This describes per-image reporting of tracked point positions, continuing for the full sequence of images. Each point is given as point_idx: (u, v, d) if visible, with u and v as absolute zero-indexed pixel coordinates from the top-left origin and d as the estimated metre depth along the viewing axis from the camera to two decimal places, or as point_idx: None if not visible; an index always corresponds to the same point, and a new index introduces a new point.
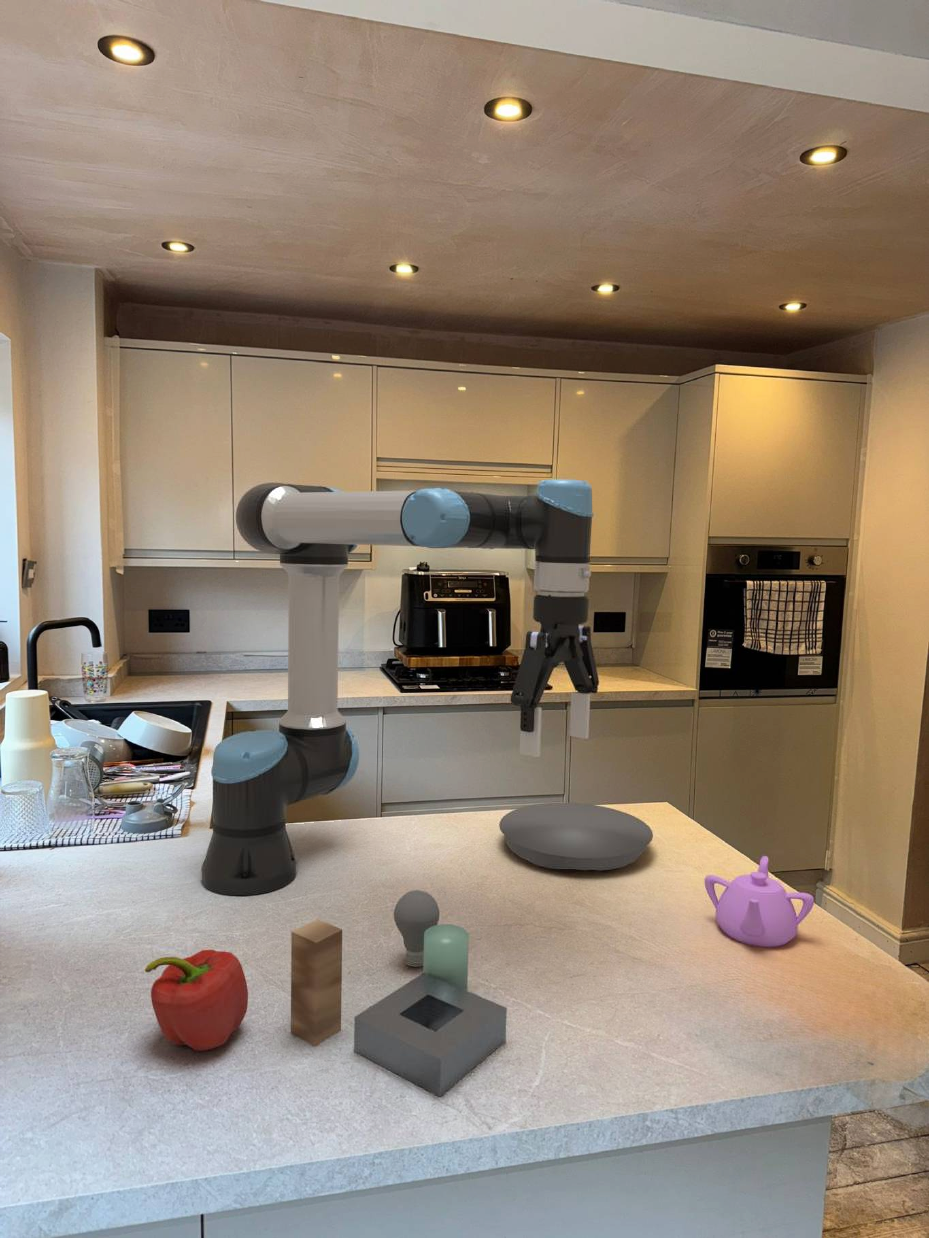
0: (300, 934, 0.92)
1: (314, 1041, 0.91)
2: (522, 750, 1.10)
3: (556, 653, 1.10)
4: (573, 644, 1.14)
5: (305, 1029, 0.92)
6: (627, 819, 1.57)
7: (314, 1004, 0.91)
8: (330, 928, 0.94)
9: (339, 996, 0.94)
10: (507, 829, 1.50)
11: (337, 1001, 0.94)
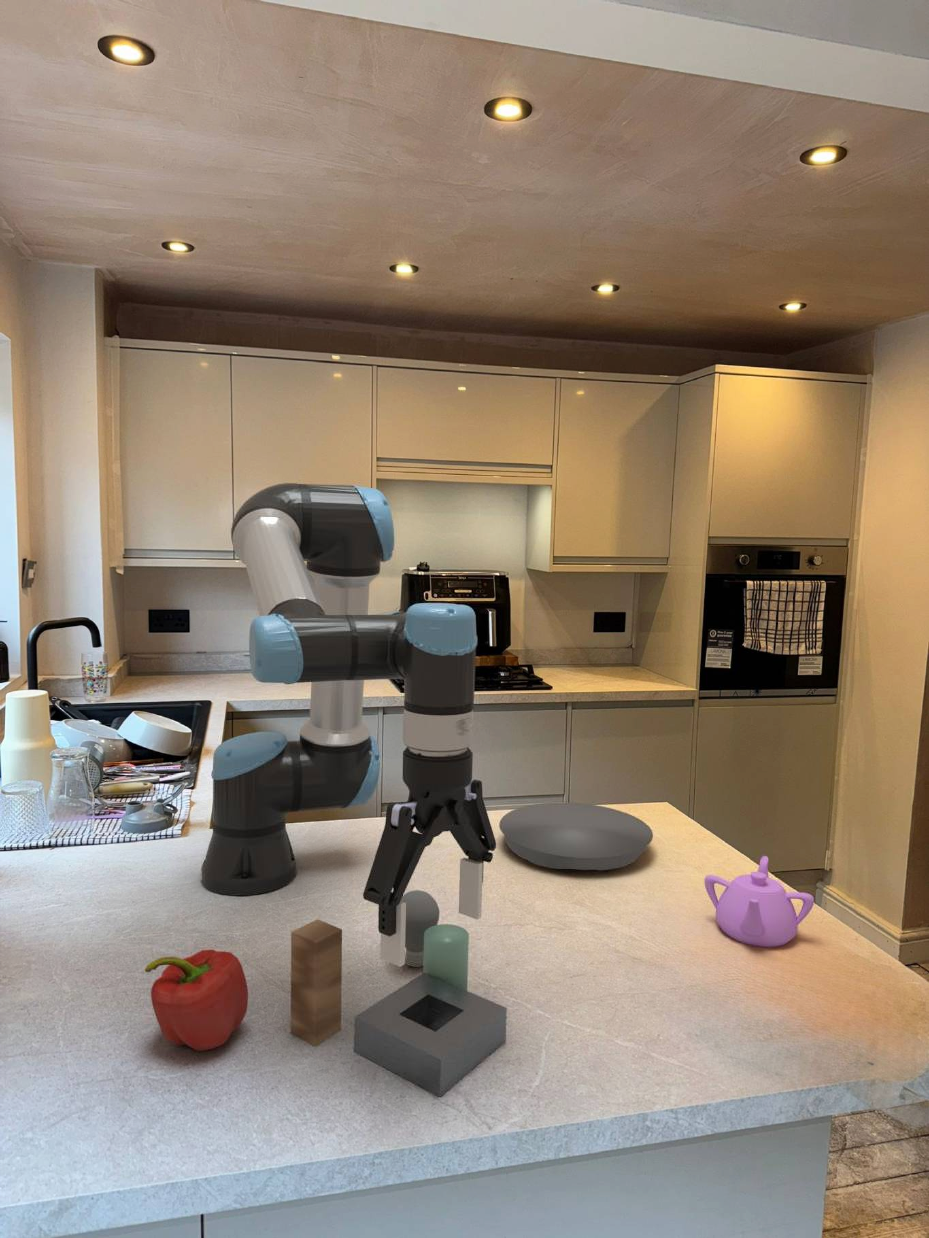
0: (300, 934, 0.92)
1: (314, 1041, 0.91)
2: (383, 954, 0.85)
3: (428, 828, 0.86)
4: (454, 811, 0.89)
5: (305, 1029, 0.92)
6: (627, 819, 1.57)
7: (314, 1004, 0.91)
8: (330, 928, 0.94)
9: (339, 996, 0.94)
10: (507, 828, 1.50)
11: (337, 1001, 0.94)
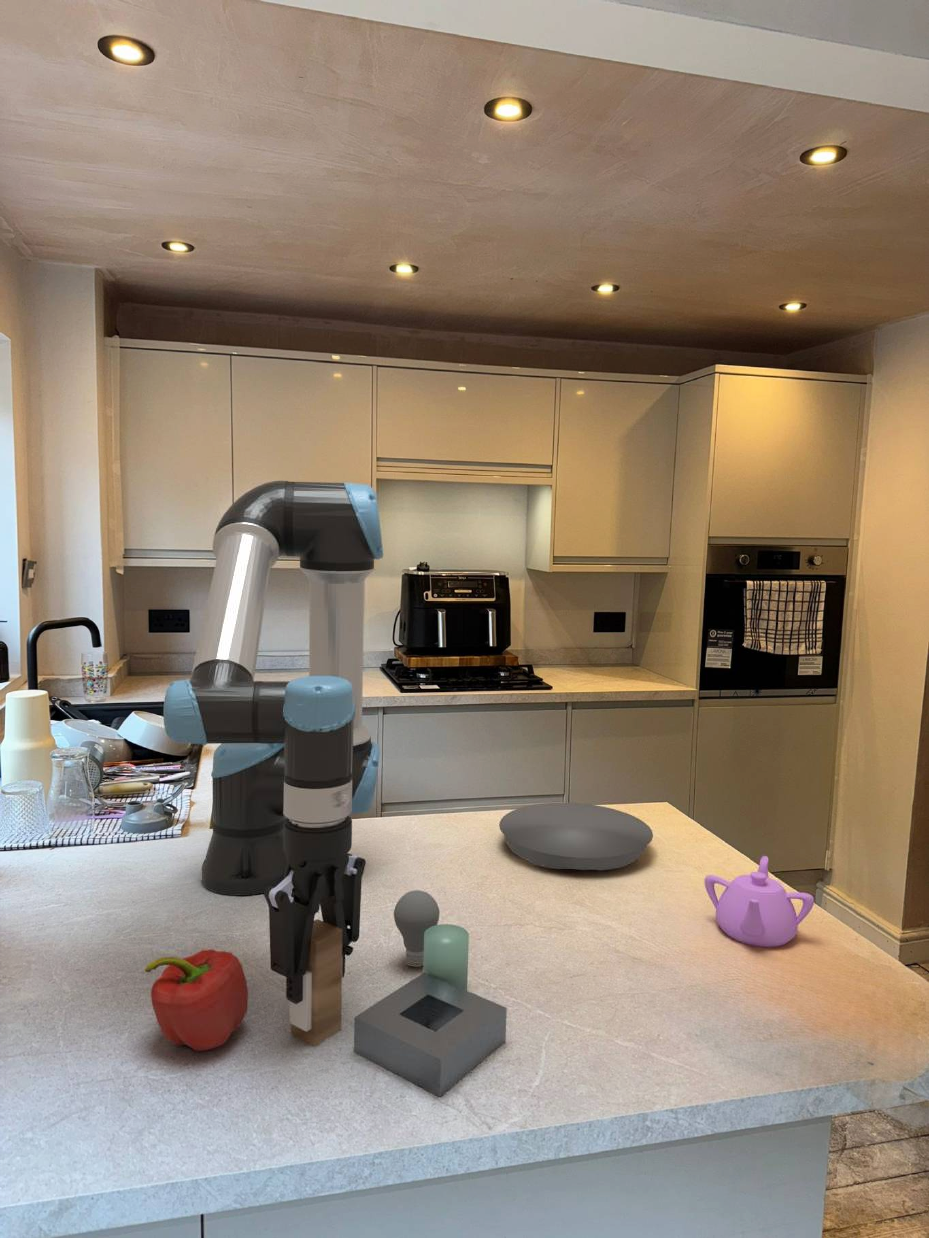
0: None
1: (314, 1041, 0.91)
2: (292, 1019, 0.92)
3: (310, 901, 0.90)
4: (332, 876, 0.92)
5: None
6: (627, 819, 1.57)
7: (314, 1004, 0.91)
8: (330, 928, 0.94)
9: (339, 996, 0.94)
10: (507, 829, 1.50)
11: (337, 1001, 0.94)
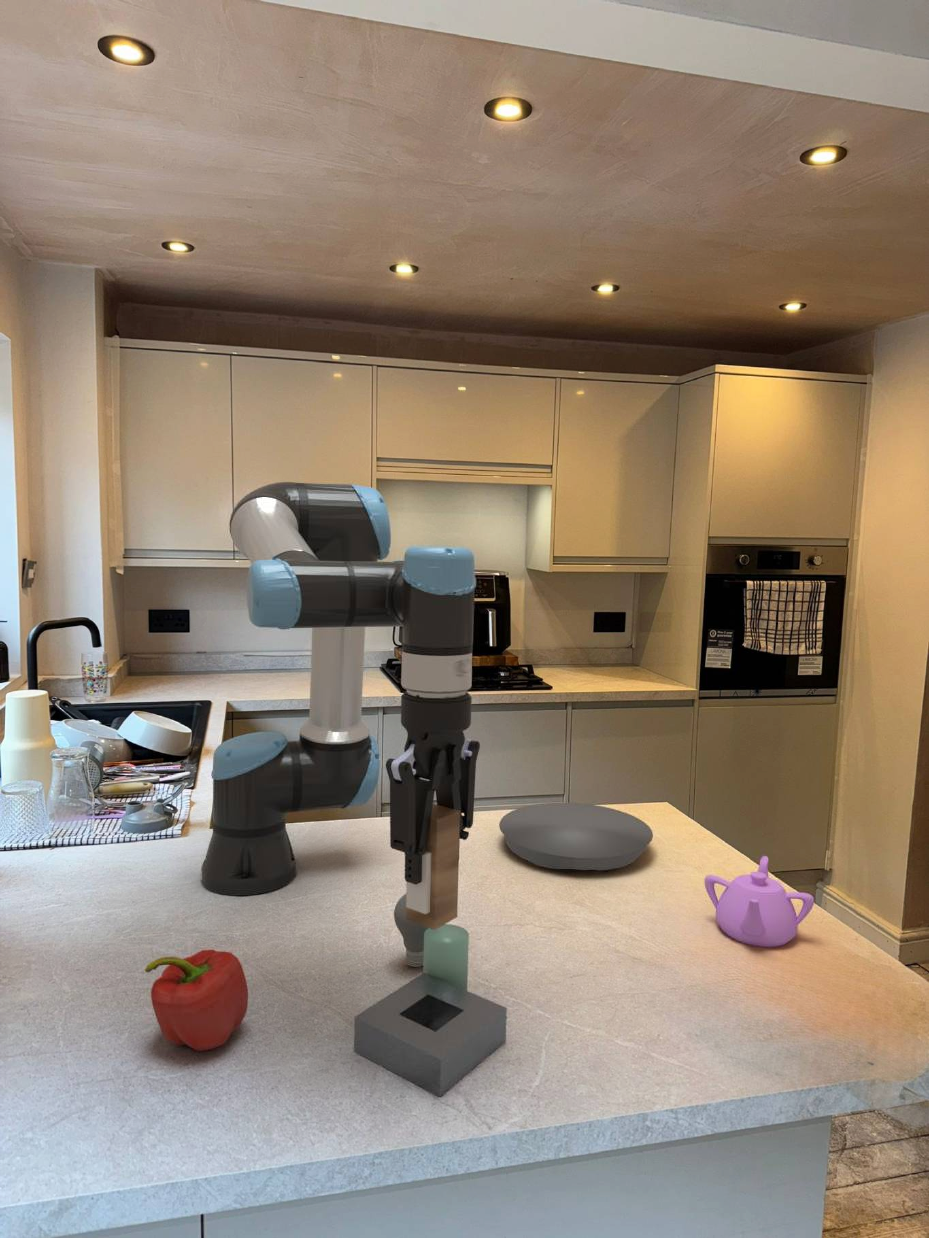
0: None
1: (433, 925, 0.88)
2: (409, 903, 0.88)
3: (431, 776, 0.86)
4: (451, 753, 0.88)
5: None
6: (627, 819, 1.57)
7: (433, 886, 0.87)
8: (447, 810, 0.90)
9: (456, 881, 0.90)
10: (507, 829, 1.50)
11: (454, 886, 0.90)
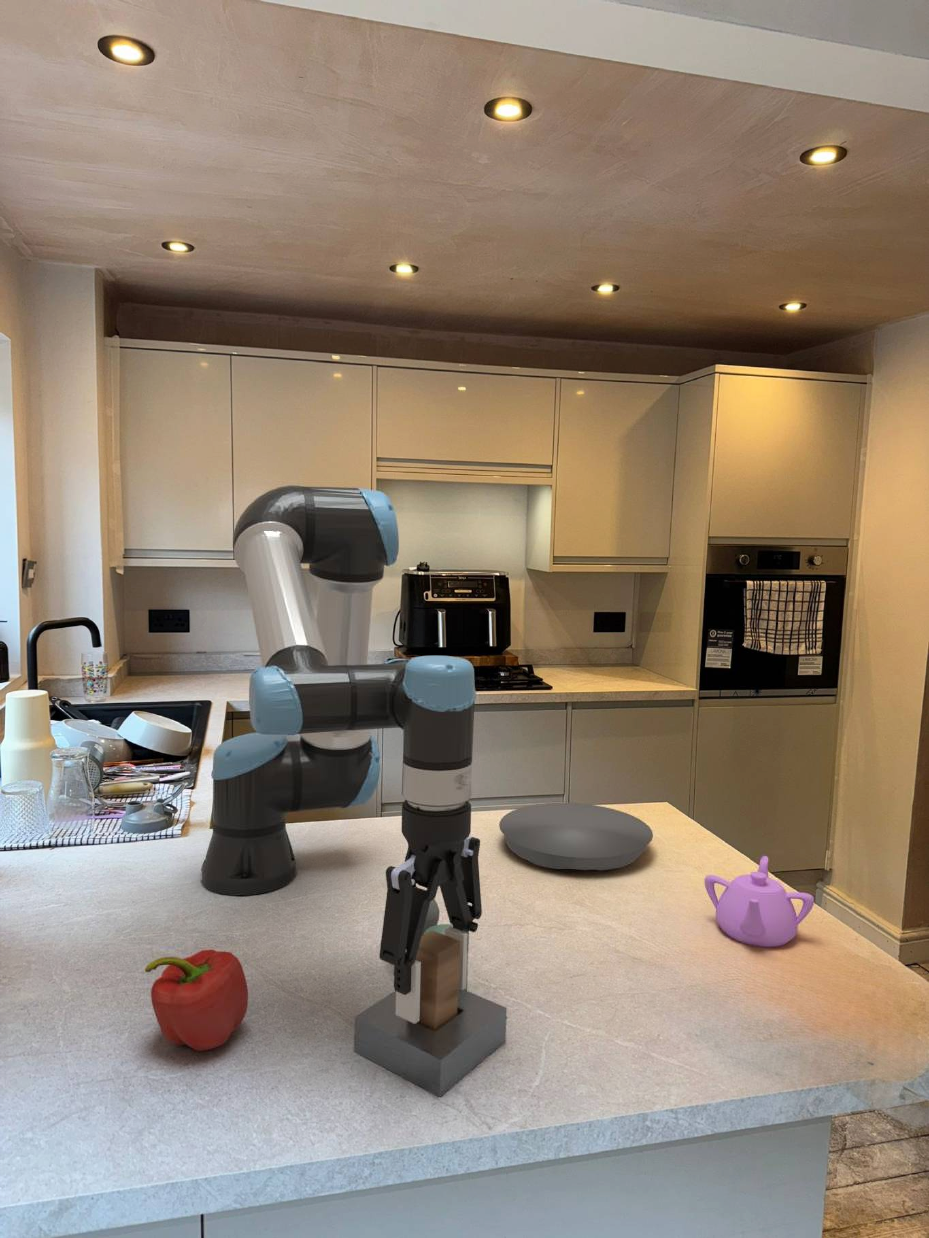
0: (420, 946, 0.90)
1: None
2: (398, 1011, 0.88)
3: (429, 885, 0.87)
4: (452, 862, 0.89)
5: None
6: (627, 819, 1.57)
7: (433, 1018, 0.89)
8: (448, 940, 0.92)
9: (455, 1010, 0.92)
10: (507, 829, 1.50)
11: (453, 1015, 0.92)
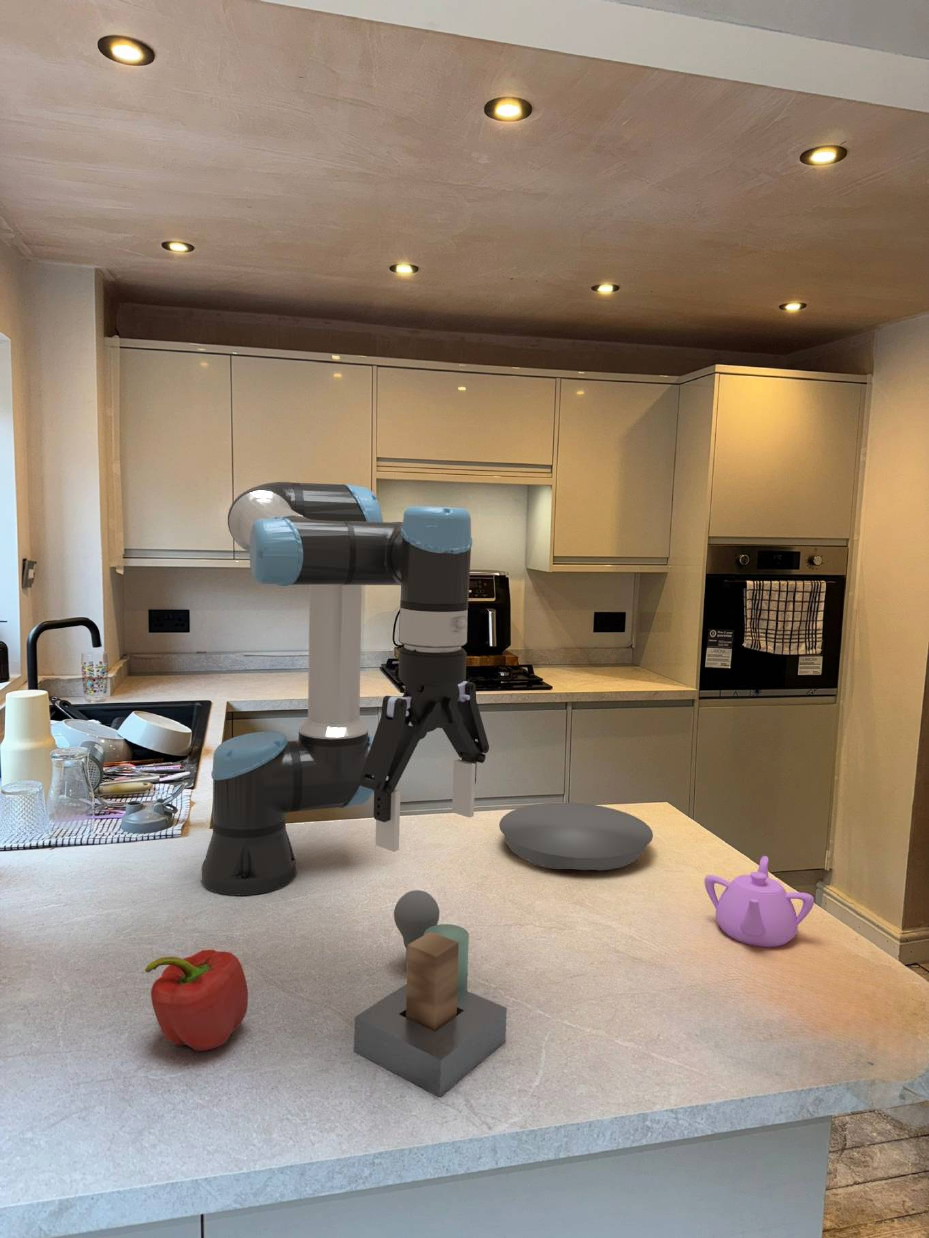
0: (418, 948, 0.90)
1: None
2: (378, 841, 0.89)
3: (422, 722, 0.89)
4: (448, 708, 0.92)
5: None
6: (627, 819, 1.57)
7: (433, 1020, 0.89)
8: (446, 941, 0.91)
9: (455, 1010, 0.92)
10: (507, 829, 1.50)
11: (453, 1016, 0.91)
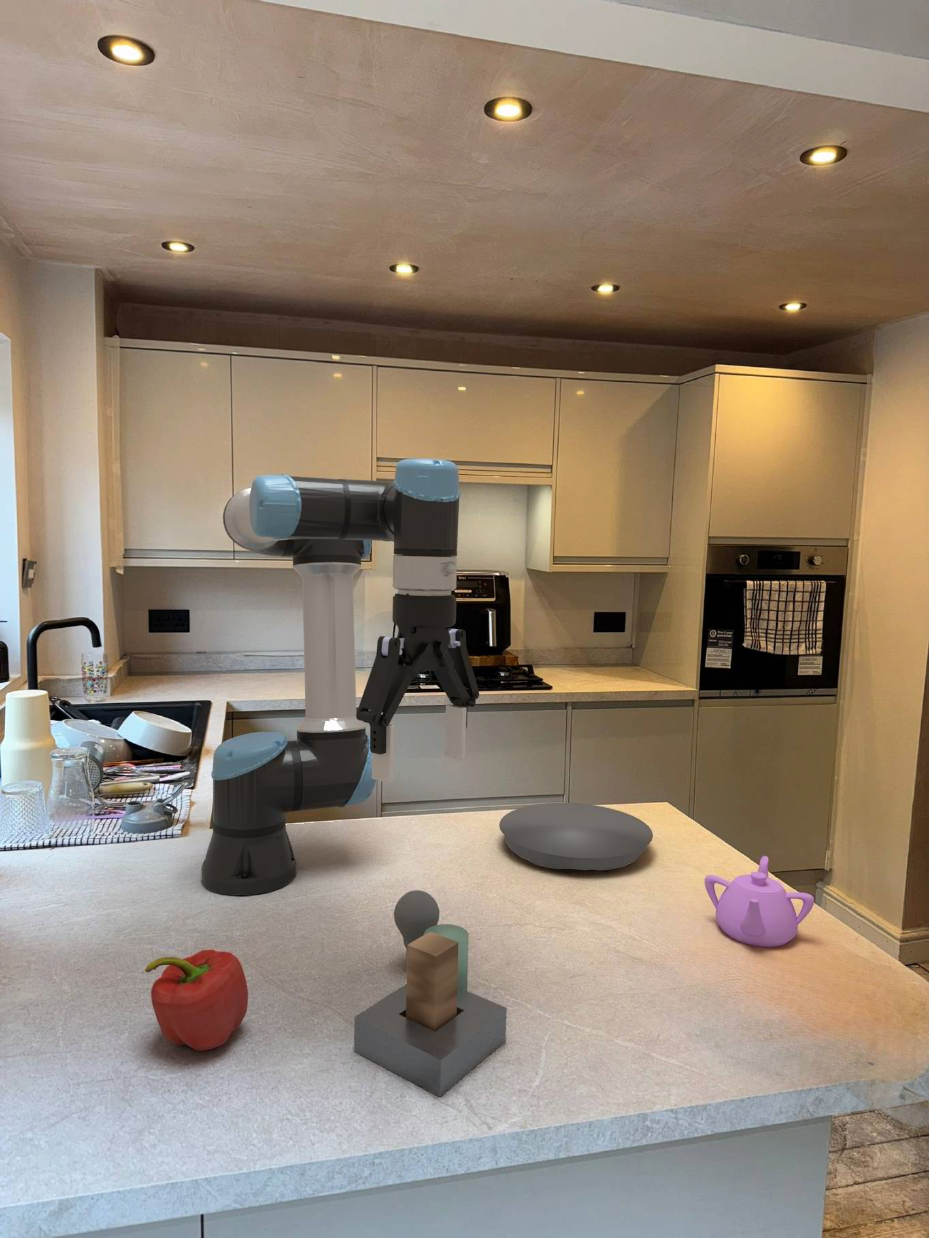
0: (417, 948, 0.90)
1: None
2: (374, 775, 0.94)
3: (415, 661, 0.95)
4: (439, 651, 0.98)
5: None
6: (627, 819, 1.57)
7: (433, 1019, 0.89)
8: (446, 941, 0.91)
9: (455, 1010, 0.92)
10: (507, 829, 1.50)
11: (453, 1016, 0.91)
